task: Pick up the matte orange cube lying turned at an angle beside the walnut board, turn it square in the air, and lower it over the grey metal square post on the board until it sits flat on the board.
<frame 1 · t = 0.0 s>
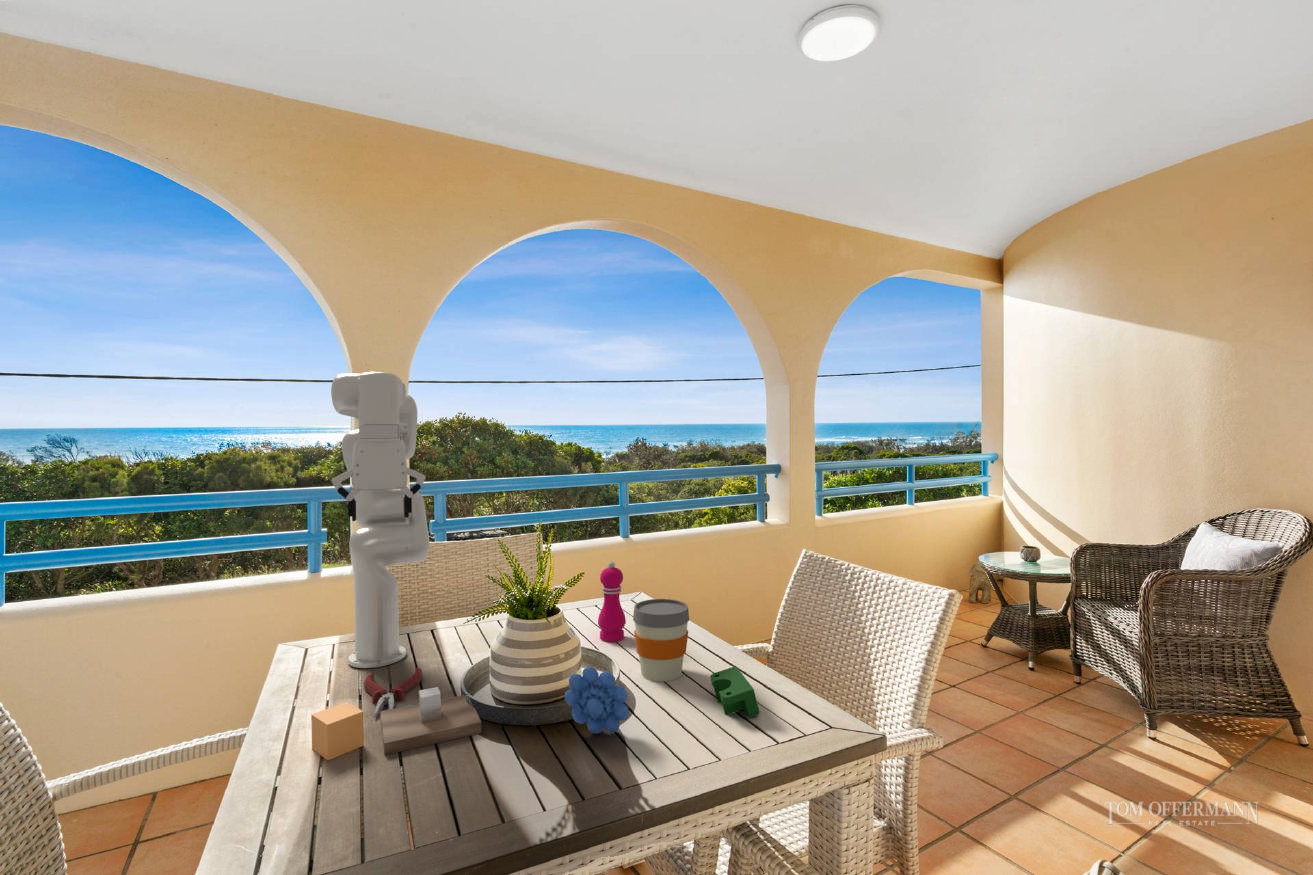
hand: (380, 518, 124), 37 cm above the table, tool pointing down, fingers open, 9 cm apart
blue knobbed flower: (596, 736, 109), on the table
pliers: (382, 698, 126), on the table
board: (430, 727, 112), on the table
matte orange cube: (338, 747, 106), on the table
pepper mill: (612, 638, 159), on the table
clamp: (733, 708, 120), on the table
reusable coffee cup: (661, 674, 136), on the table
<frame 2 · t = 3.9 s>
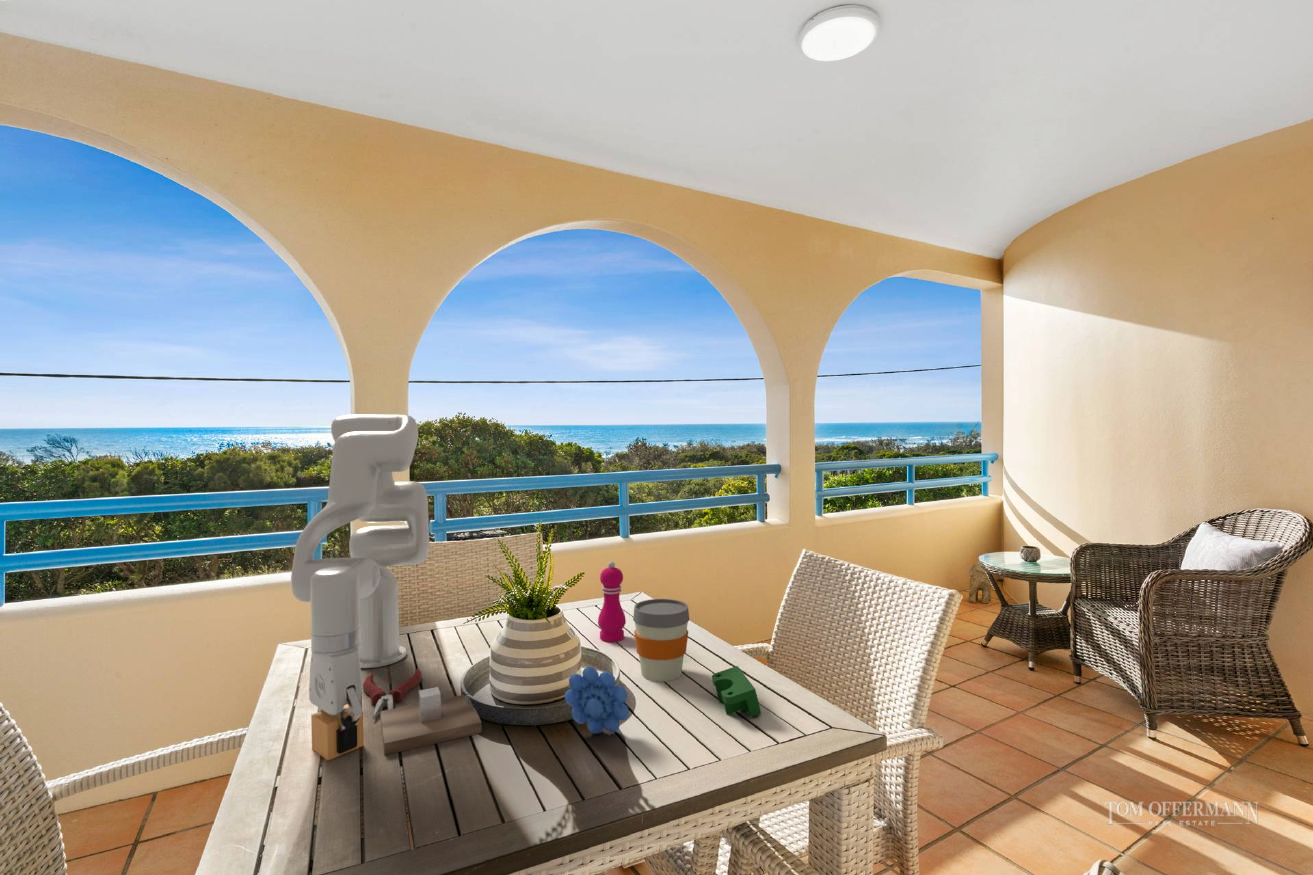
hand: (337, 742, 106), 1 cm above the table, tool pointing down, fingers closed on matte orange cube, 6 cm apart
matte orange cube: (337, 747, 106), on the table, touching gripper
everything else where it was.
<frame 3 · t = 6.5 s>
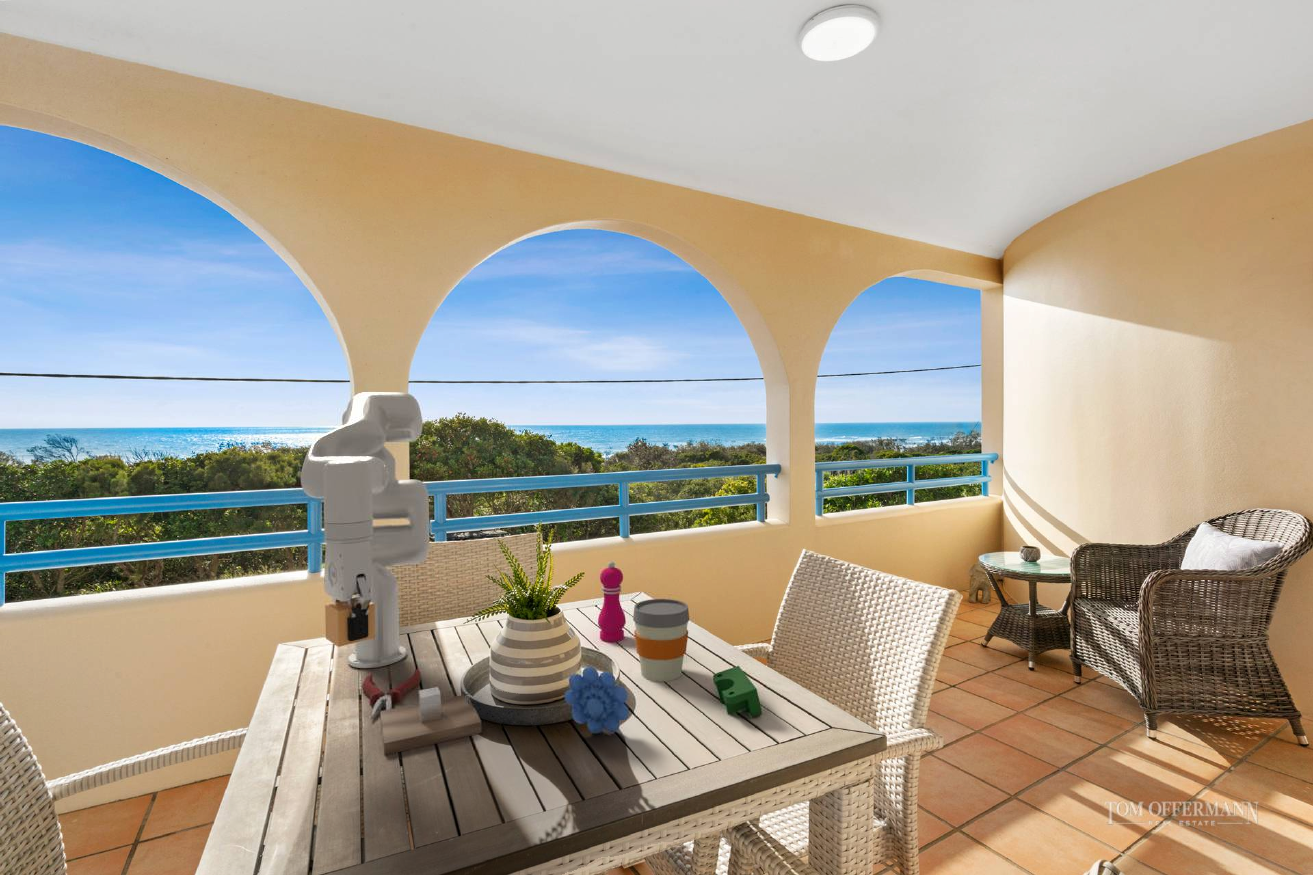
hand: (350, 633, 106), 19 cm above the table, tool pointing down, fingers closed on matte orange cube, 6 cm apart
matte orange cube: (350, 637, 106), point 19 cm above the table, touching gripper
everything else where it was.
when the fingers open (4 cm above the table, at t = 10.2 s): matte orange cube stays where it is, resting on board.
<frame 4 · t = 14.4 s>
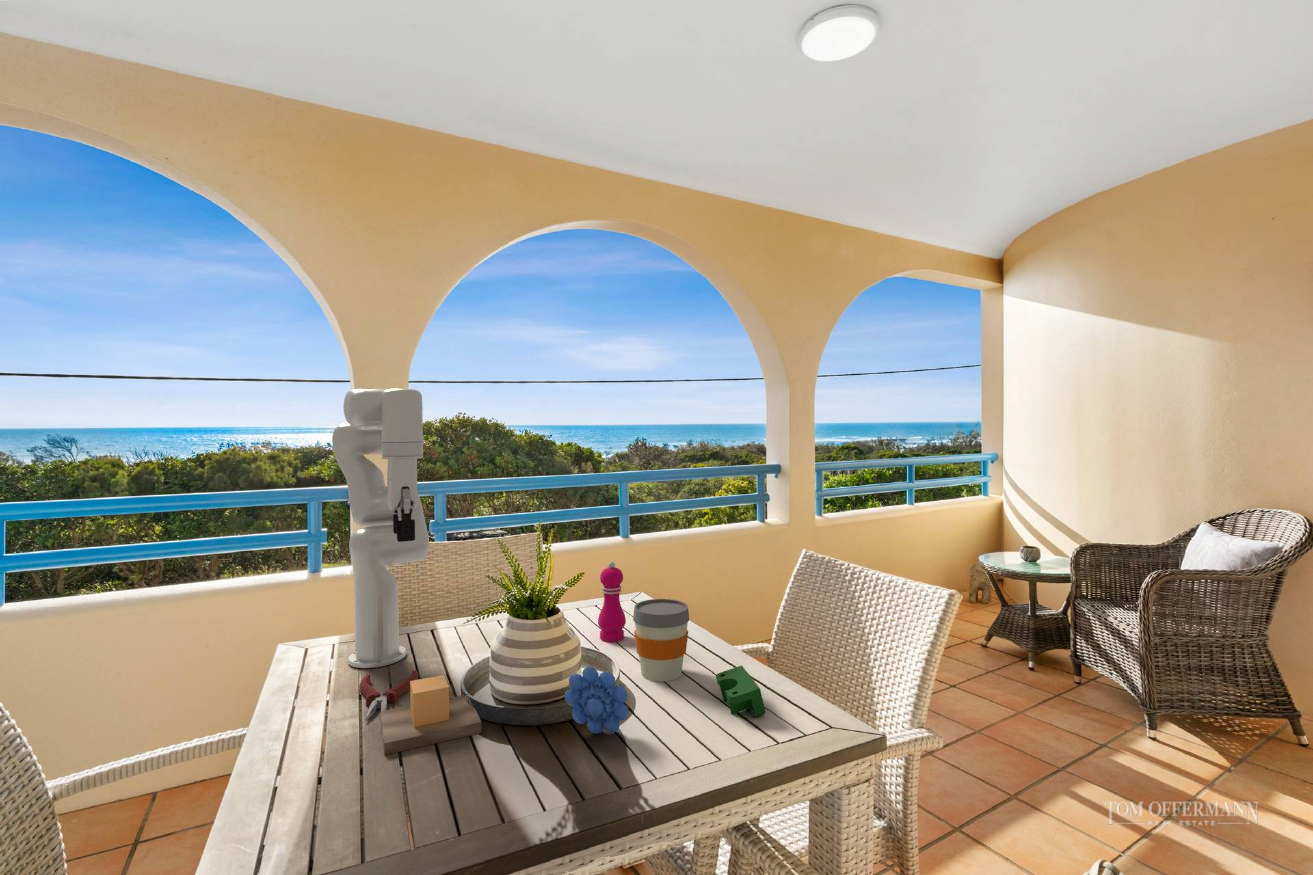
hand: (403, 536, 122), 33 cm above the table, tool pointing down, fingers open, 9 cm apart
matte orange cube: (429, 716, 112), point 2 cm above the table, touching board
at the end: matte orange cube 0.1 cm from the board (horizontally); matte orange cube point 2.0 cm above the table; matte orange cube tilted 0° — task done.
